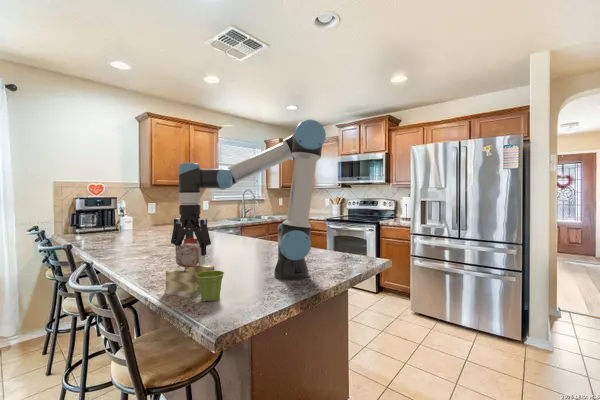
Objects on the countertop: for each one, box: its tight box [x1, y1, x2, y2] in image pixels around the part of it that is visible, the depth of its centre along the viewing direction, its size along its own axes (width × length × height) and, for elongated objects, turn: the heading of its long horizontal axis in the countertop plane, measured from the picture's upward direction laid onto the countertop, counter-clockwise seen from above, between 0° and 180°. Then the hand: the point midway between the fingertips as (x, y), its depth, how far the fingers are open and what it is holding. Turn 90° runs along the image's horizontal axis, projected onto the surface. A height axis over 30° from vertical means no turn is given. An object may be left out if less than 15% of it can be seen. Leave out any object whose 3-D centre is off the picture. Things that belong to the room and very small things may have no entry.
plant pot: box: [196, 269, 225, 302], centre depth 100 cm, size 9×9×9 cm
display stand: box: [163, 263, 215, 298], centre depth 110 cm, size 12×14×8 cm
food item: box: [175, 237, 200, 268], centre depth 111 cm, size 14×8×10 cm, turn 7°
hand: (190, 263), depth 110 cm, fingers closed on food item, 9 cm apart
